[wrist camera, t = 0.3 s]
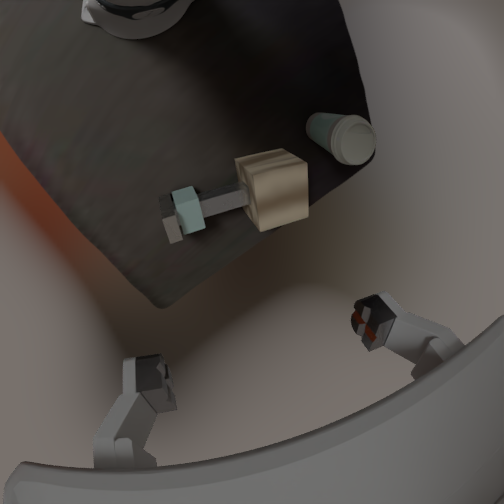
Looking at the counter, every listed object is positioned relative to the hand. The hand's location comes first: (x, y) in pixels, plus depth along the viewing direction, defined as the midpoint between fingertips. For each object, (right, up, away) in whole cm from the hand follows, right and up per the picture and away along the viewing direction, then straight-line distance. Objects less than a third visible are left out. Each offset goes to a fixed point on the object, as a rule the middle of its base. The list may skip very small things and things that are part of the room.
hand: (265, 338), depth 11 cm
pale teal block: (-12, +12, +36) cm, 40 cm away
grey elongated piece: (-7, +14, +37) cm, 41 cm away
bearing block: (+1, +17, +40) cm, 43 cm away
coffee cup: (+12, +27, +37) cm, 48 cm away
